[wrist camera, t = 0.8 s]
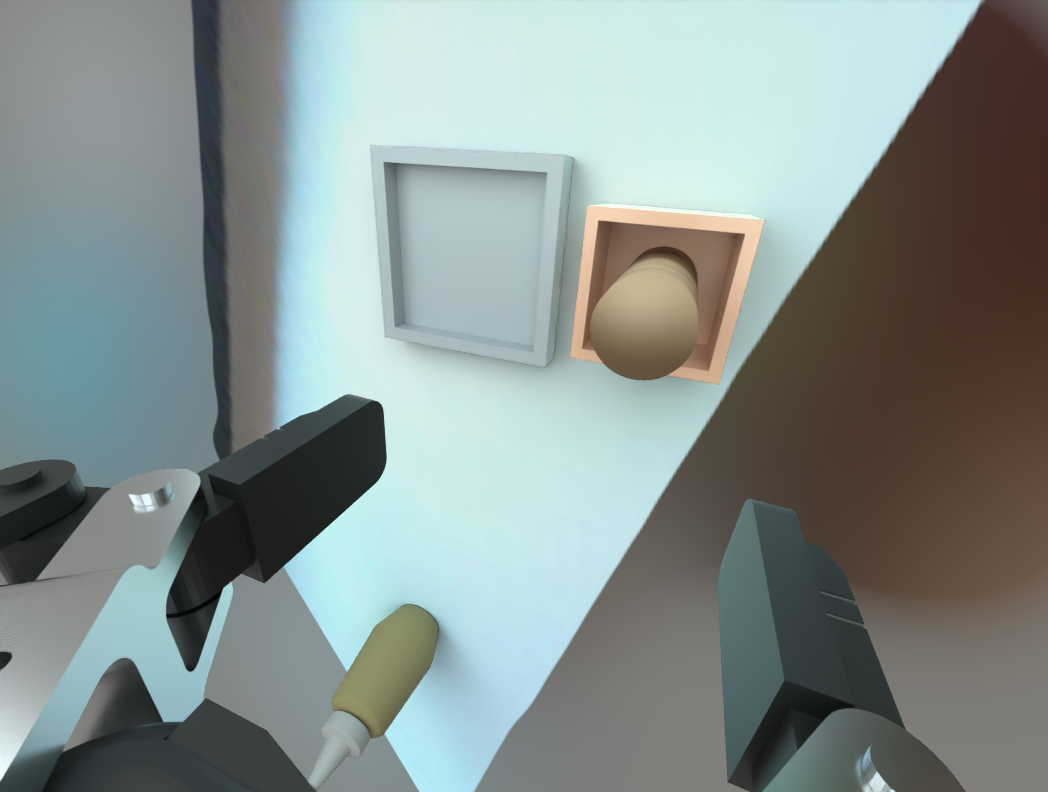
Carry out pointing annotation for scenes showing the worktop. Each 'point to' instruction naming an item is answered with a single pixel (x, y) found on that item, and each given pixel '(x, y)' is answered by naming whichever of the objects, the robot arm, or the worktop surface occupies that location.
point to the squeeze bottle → (376, 686)
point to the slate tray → (472, 248)
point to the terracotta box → (704, 236)
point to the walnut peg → (648, 316)
